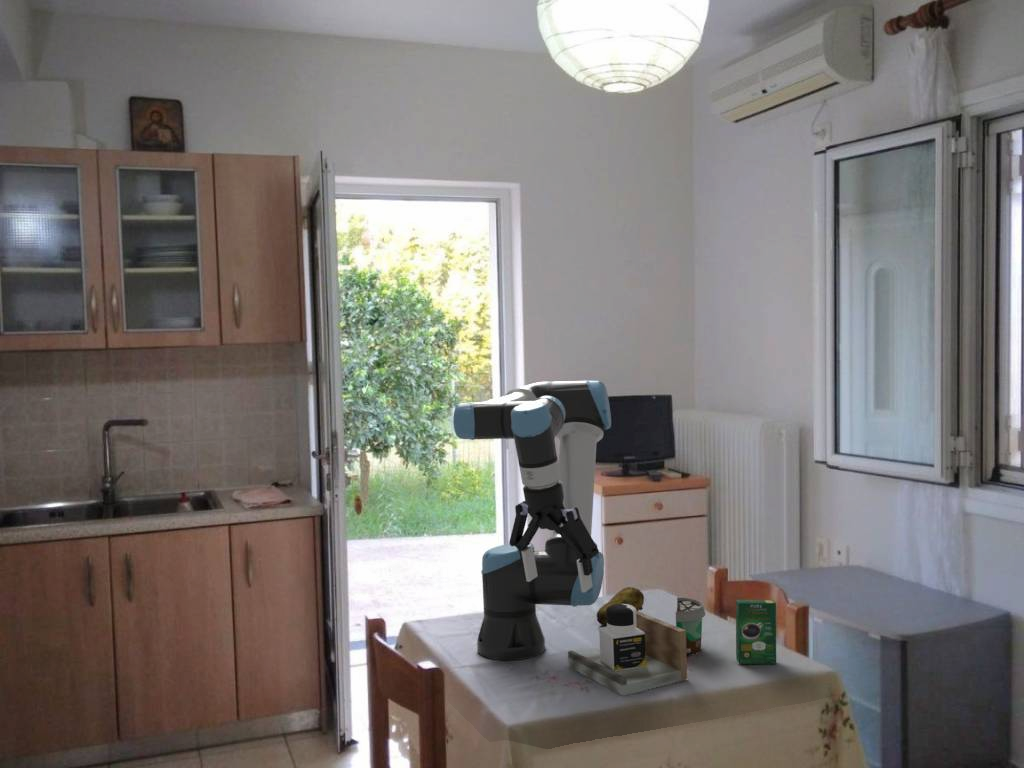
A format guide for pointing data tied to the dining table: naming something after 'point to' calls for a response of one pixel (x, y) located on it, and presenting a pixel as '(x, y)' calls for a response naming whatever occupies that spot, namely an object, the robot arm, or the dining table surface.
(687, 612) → the food container
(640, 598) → the potato
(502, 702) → the dining table surface
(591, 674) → the wall board
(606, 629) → the medicine bottle
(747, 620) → the coffee box
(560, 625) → the dining table surface
